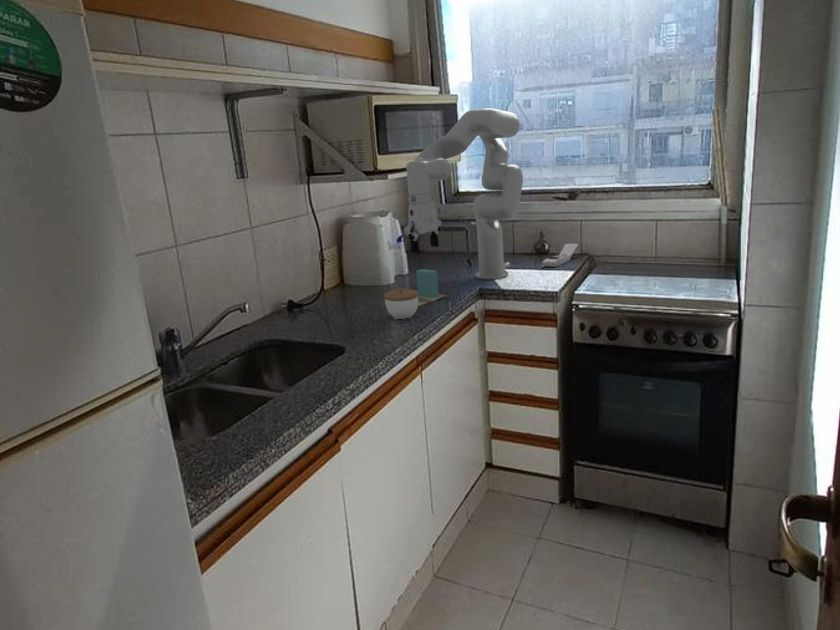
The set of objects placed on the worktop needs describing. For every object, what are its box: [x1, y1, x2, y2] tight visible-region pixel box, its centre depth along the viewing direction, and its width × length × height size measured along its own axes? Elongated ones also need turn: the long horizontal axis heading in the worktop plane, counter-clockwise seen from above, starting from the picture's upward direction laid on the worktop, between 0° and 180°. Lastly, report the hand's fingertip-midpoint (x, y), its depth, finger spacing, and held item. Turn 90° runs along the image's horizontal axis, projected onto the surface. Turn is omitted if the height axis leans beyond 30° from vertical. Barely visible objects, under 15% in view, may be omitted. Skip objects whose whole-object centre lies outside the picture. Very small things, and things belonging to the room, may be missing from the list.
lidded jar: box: [383, 287, 419, 320], centre depth 191 cm, size 11×11×9 cm
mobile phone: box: [540, 243, 579, 269], centre depth 251 cm, size 6×6×25 cm
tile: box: [416, 268, 440, 298], centre depth 212 cm, size 3×7×9 cm, turn 46°
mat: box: [418, 293, 448, 307], centre depth 210 cm, size 16×11×1 cm
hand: (425, 249), depth 208 cm, fingers open, 9 cm apart
